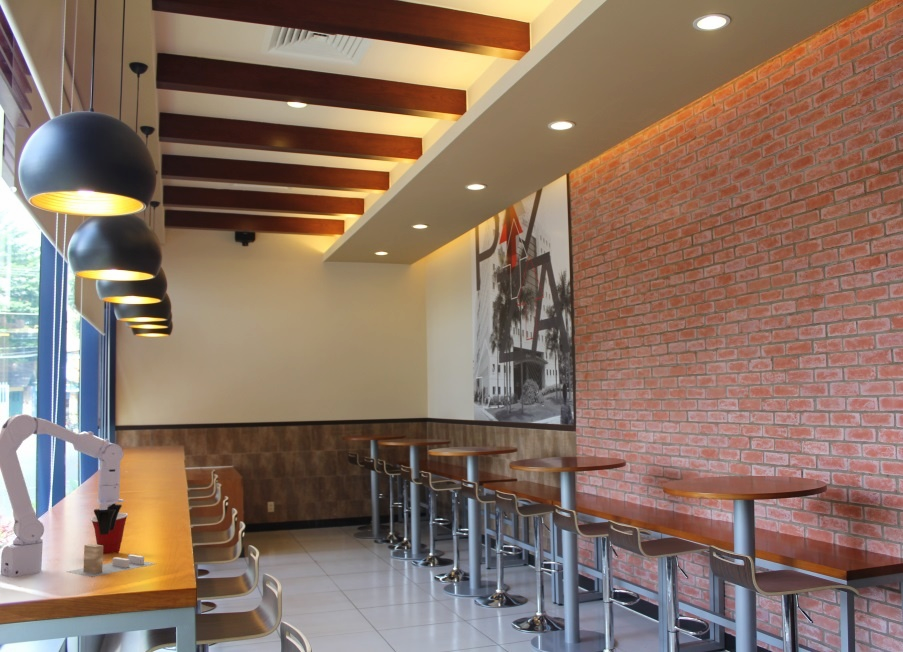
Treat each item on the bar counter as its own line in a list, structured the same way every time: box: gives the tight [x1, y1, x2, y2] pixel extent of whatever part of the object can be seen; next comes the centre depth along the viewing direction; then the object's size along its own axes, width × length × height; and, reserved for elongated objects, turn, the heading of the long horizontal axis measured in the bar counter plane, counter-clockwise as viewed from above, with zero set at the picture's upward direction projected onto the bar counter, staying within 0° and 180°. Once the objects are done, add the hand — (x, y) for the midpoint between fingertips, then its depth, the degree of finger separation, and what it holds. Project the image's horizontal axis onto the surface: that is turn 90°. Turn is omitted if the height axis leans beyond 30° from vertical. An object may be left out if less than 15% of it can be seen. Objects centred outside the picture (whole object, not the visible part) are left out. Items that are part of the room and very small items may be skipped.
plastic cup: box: [90, 512, 129, 555], centre depth 246 cm, size 11×11×12 cm
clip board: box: [66, 554, 157, 578], centre depth 221 cm, size 20×12×3 cm, turn 147°
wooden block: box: [82, 543, 104, 573], centre depth 216 cm, size 2×5×7 cm, turn 57°
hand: (107, 532), depth 229 cm, fingers open, 7 cm apart
